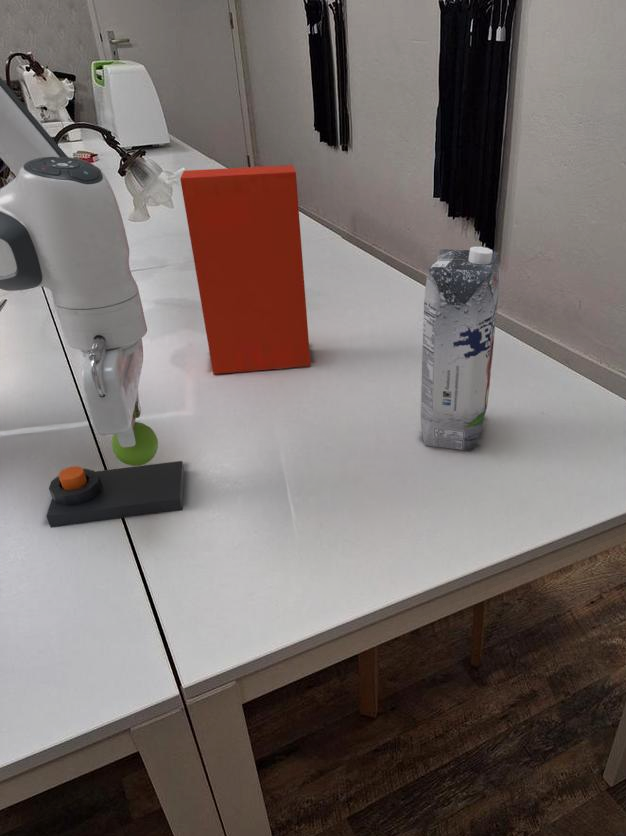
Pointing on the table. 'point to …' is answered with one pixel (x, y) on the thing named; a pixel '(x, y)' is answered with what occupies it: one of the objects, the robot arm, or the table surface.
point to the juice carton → (458, 346)
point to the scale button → (72, 478)
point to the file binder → (249, 266)
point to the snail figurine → (137, 445)
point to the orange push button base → (118, 494)
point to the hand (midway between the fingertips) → (131, 429)
